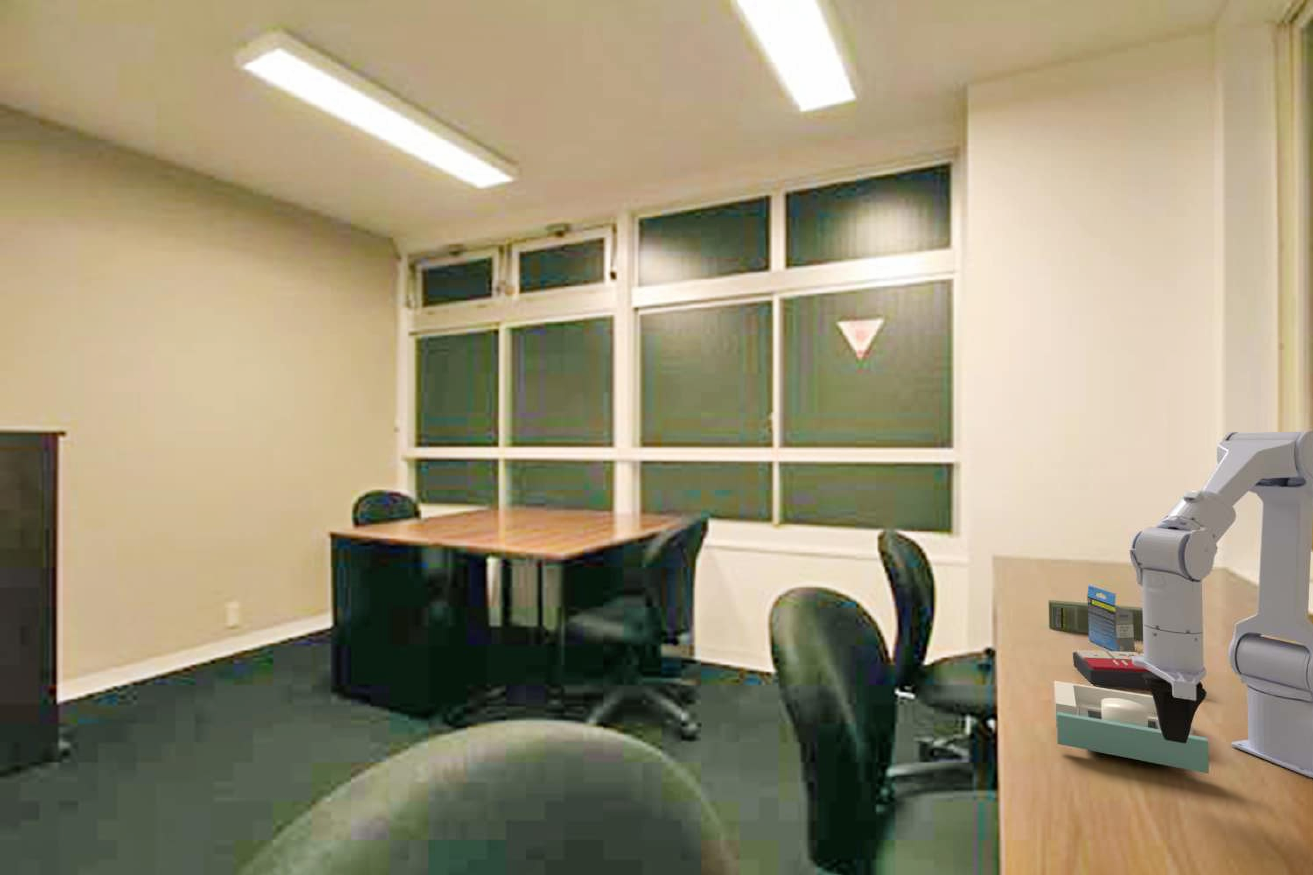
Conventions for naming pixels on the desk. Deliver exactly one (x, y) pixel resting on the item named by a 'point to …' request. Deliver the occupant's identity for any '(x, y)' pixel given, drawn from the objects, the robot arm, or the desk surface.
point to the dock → (1095, 698)
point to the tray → (1130, 740)
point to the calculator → (1110, 668)
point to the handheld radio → (1084, 617)
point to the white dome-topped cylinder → (1124, 711)
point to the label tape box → (1109, 622)
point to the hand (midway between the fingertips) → (1174, 739)
